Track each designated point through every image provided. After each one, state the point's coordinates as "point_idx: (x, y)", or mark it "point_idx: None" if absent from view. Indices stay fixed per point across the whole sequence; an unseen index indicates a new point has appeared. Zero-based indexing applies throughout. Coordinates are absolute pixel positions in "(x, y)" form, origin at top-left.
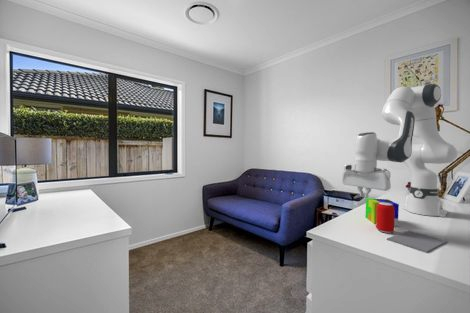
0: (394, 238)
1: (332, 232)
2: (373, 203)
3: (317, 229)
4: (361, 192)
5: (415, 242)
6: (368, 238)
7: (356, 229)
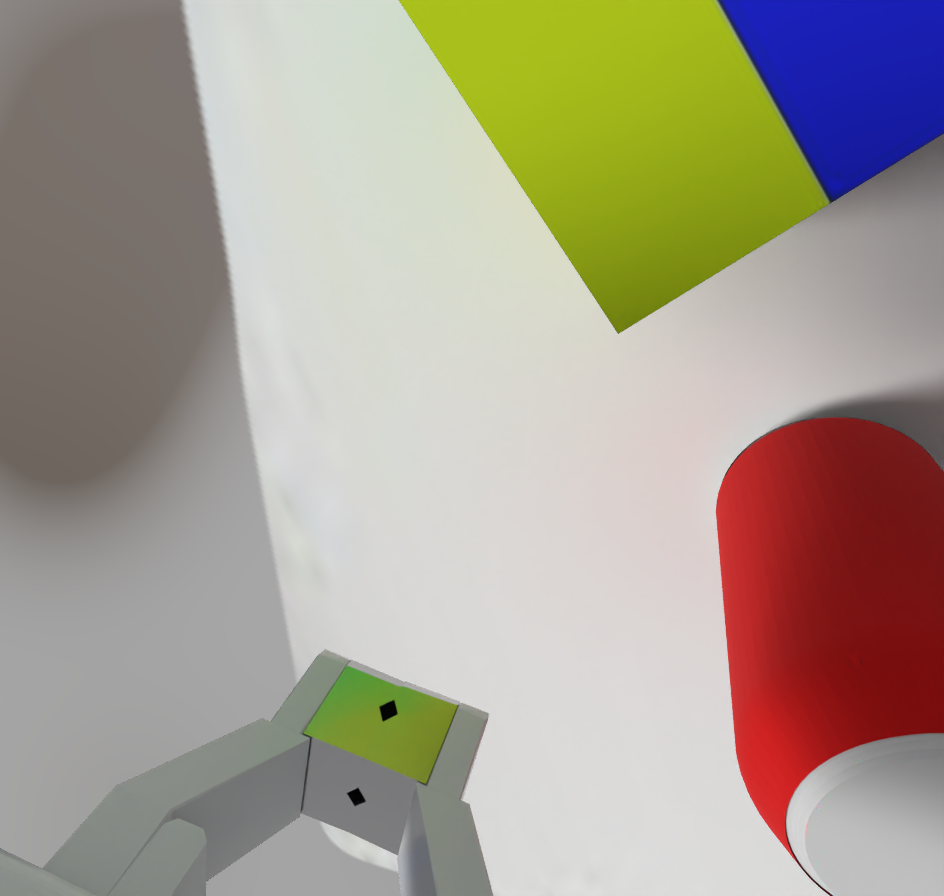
0: None
1: None
2: (580, 265)
3: None
4: (288, 811)
5: None
6: (689, 781)
7: (539, 623)
